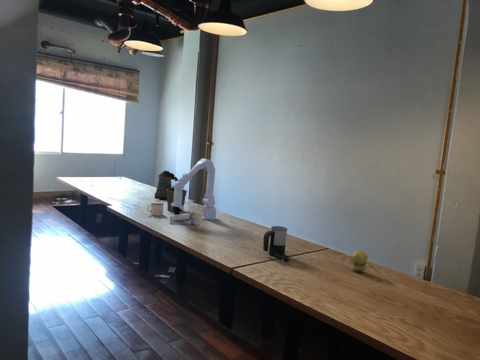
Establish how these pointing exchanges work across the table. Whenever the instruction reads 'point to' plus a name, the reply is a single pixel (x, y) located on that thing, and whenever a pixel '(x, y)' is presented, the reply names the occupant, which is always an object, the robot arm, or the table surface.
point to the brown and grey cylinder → (192, 220)
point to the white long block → (181, 216)
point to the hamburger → (359, 260)
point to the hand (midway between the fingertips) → (176, 217)
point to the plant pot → (171, 198)
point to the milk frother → (276, 242)
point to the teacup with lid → (156, 208)
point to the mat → (184, 221)
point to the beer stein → (164, 185)
